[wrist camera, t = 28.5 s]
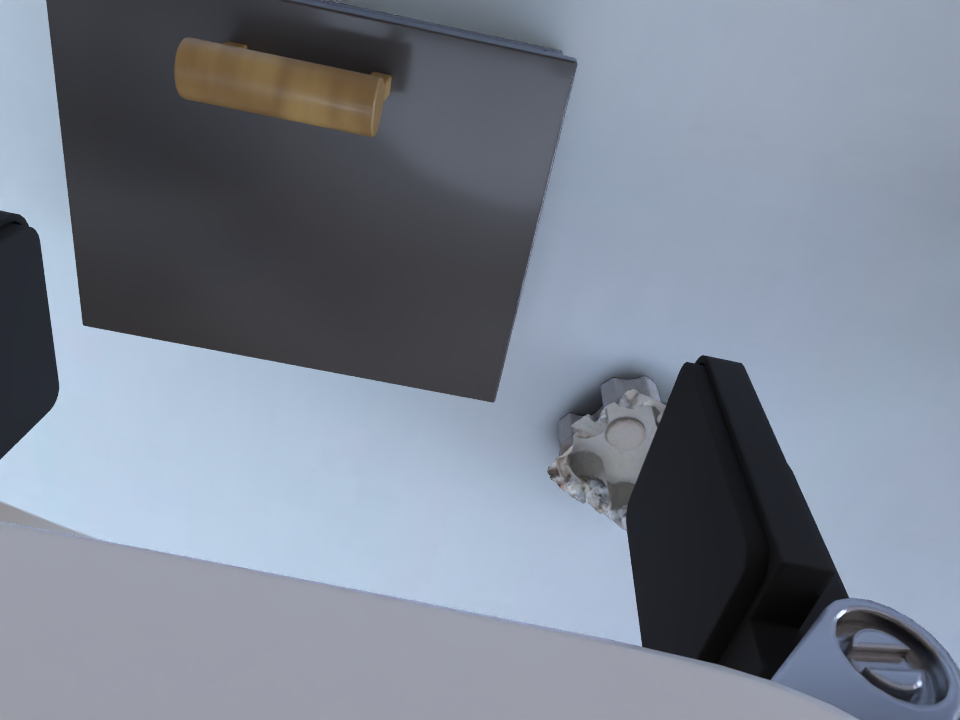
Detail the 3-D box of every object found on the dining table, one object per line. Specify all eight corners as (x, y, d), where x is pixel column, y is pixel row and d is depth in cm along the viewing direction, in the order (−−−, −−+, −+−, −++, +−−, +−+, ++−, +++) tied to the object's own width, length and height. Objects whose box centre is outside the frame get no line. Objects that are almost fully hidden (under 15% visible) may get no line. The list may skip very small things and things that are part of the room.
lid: (52, -55, 25) (-48, -47, 20) (576, 57, 26) (586, 87, 21) (91, 317, 32) (24, 379, 28) (495, 393, 33) (490, 465, 29)
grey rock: (536, 428, 42) (537, 474, 39) (639, 351, 39) (649, 393, 36) (654, 530, 46) (664, 580, 42) (756, 466, 43) (776, 514, 39)
